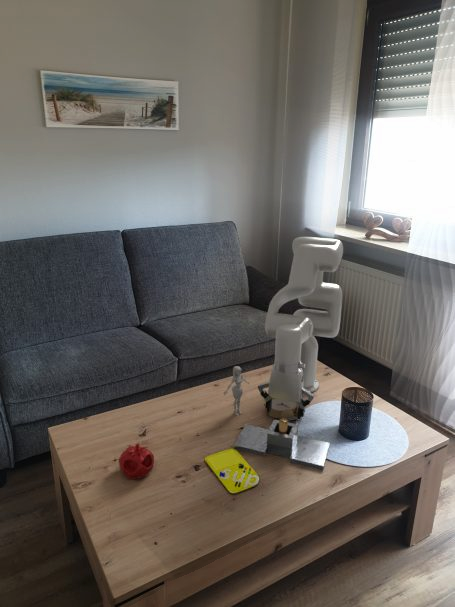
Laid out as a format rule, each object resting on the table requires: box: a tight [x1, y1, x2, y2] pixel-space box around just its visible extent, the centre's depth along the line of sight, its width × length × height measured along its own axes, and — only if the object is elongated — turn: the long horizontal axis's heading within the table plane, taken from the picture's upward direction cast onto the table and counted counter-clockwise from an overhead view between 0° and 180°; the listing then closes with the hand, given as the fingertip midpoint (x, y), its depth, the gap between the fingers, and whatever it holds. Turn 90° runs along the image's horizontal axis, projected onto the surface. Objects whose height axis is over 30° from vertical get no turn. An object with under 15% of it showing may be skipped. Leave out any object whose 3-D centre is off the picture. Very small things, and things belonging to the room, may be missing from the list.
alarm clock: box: [263, 398, 306, 423], centre depth 170 cm, size 11×5×15 cm
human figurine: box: [223, 365, 250, 416], centre depth 168 cm, size 12×4×18 cm, turn 132°
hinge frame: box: [233, 419, 330, 471], centre depth 151 cm, size 12×28×7 cm, turn 70°
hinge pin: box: [278, 418, 289, 435], centre depth 151 cm, size 3×3×10 cm
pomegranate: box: [118, 441, 155, 480], centre depth 139 cm, size 10×10×9 cm
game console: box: [204, 448, 260, 496], centre depth 142 cm, size 18×11×2 cm, turn 30°
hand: (284, 414), depth 149 cm, fingers open, 9 cm apart
